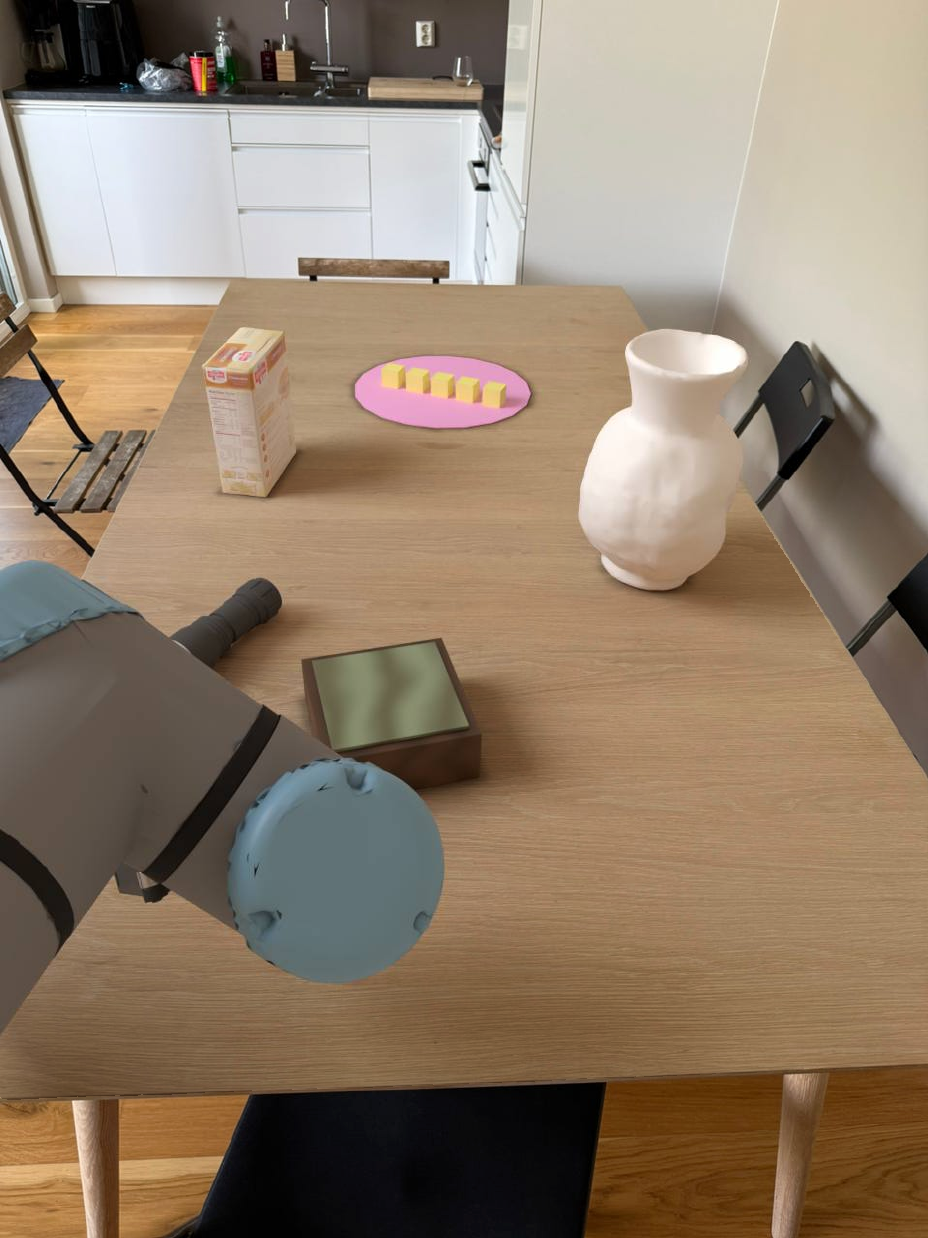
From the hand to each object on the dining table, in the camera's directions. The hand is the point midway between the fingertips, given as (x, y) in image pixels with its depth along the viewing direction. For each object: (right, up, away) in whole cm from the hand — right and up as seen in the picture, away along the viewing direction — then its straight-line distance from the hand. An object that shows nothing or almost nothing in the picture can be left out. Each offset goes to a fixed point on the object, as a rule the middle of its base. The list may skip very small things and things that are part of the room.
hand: (233, 822), depth 65 cm
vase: (+40, +21, +53) cm, 70 cm away
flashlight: (-11, +11, +38) cm, 41 cm away
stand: (+9, +3, +27) cm, 29 cm away
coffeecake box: (-14, +37, +71) cm, 81 cm away
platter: (+13, +56, +97) cm, 113 cm away
